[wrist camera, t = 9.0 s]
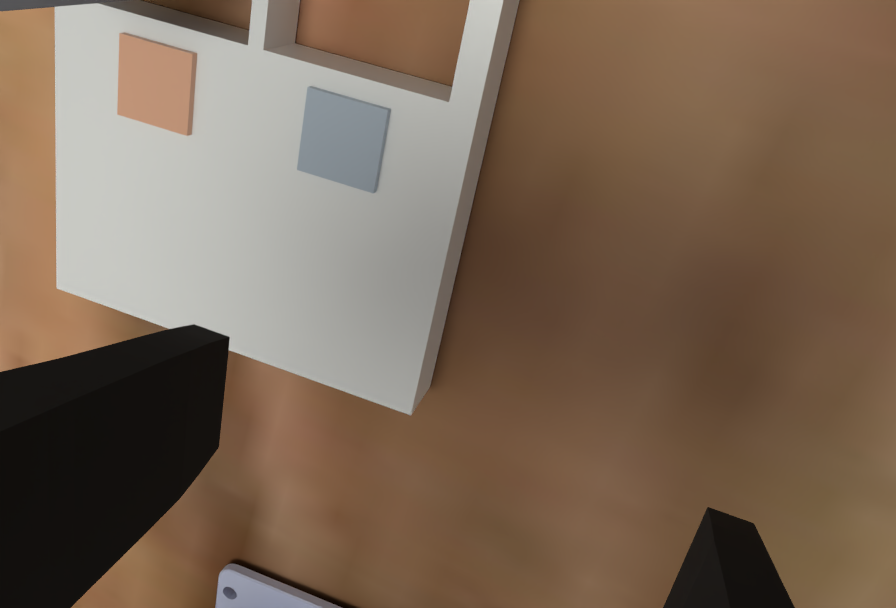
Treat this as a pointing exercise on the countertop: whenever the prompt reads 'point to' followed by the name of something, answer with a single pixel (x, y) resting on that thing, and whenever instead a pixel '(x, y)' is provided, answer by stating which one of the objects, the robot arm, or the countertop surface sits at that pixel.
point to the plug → (45, 3)
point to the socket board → (270, 186)
